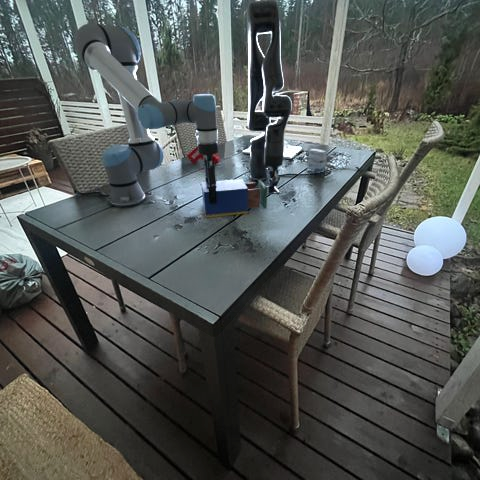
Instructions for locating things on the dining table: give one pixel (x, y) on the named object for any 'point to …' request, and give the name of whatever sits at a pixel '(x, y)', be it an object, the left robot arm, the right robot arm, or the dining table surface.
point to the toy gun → (200, 156)
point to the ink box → (316, 160)
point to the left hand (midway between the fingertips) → (211, 197)
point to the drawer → (258, 194)
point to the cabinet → (226, 198)
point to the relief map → (285, 150)
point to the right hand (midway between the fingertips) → (271, 193)
